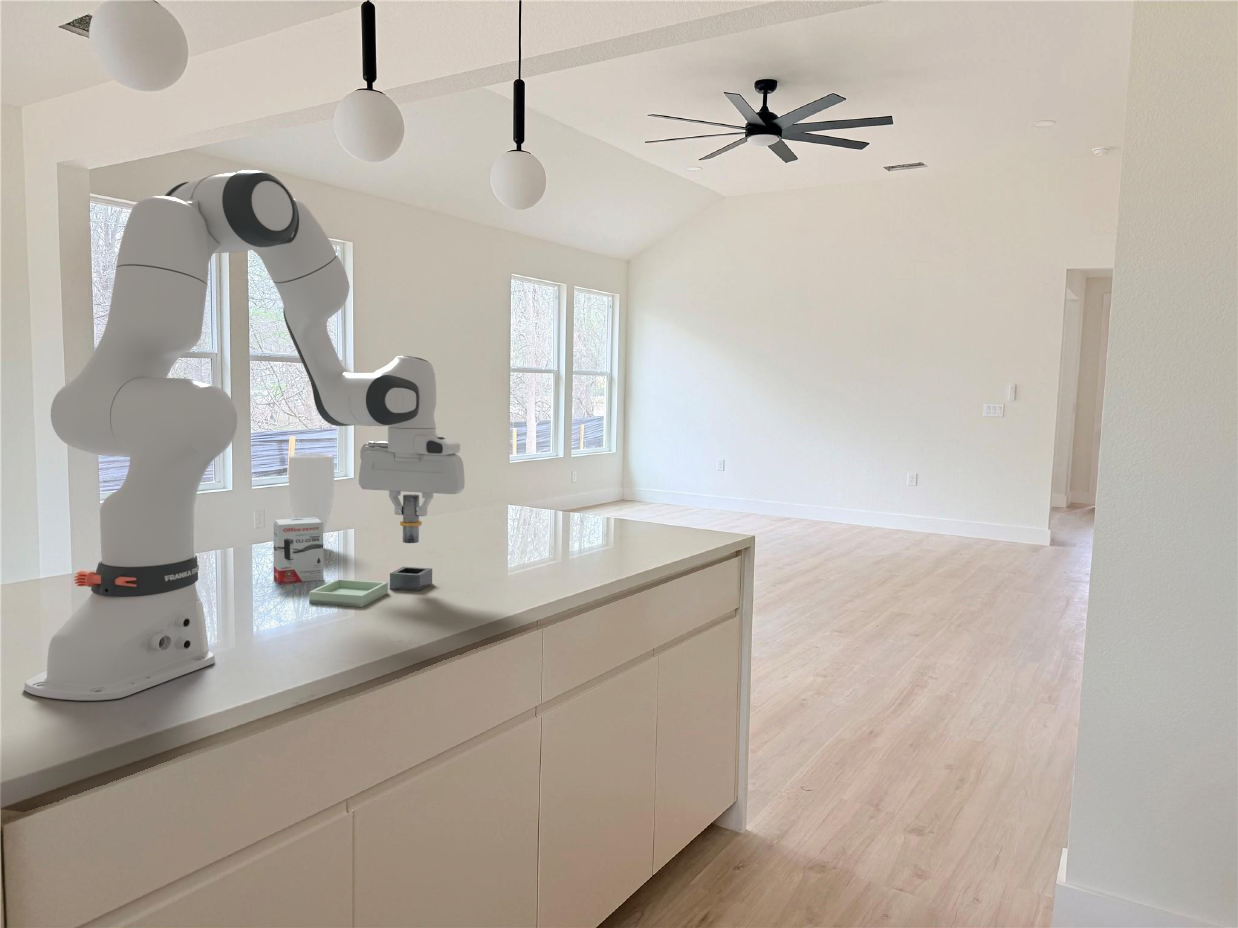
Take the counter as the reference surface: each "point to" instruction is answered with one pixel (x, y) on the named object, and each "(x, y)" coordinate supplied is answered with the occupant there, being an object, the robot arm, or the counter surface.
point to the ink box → (298, 550)
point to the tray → (348, 592)
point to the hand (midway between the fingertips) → (410, 515)
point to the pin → (410, 518)
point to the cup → (311, 485)
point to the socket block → (411, 578)
